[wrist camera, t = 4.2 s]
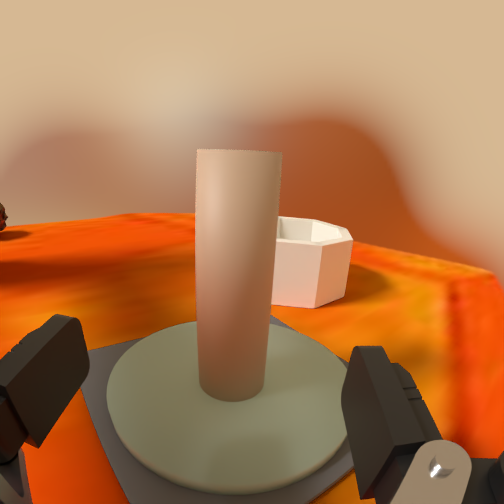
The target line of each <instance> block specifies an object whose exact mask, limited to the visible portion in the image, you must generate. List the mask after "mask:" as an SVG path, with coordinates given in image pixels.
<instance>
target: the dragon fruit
mask: <svg viewBox="0 0 504 504" xmlns="http://www.w3.org/2000/svg"><path fill="white" fill-rule="evenodd" d="M7 218H8V216H7V215H6V214H5V208H4V207H3V205H2V204H1V203H0V231H2V230H4V229H5V227H6V223H5V220H6V219H7Z"/></svg>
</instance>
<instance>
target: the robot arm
mask: <svg viewBox="0 0 504 504" xmlns="http://www.w3.org/2000/svg"><path fill="white" fill-rule="evenodd" d="M89 369H90V360H89V355H88V352H87V347H86V343H85V339H84V335H83V330H82V326H81V323H80V321H79V320H78V319H77V318H74V317H69V316H64V315H59V314H55V315H53V316H52V317H51V318H50V319H49V320H48V321H47V322H45V323H44V324H43V325H42V326H41V327H40V328H38V329H36V330H34V331H32V332H30V333H28V334H27V335H26V336H25V337H24V338H23V339H22V340H21V341H20V342H19V344H16V345H15V346H14V347H13V348H12V349H11V352H8V353H7V354H6V355H5V356H4V357H3V358H2V359H1V360H0V504H33V502H32V498H31V493H30V488H29V483H28V477H27V470H26V464H25V456H24V452H23V450H22V448H21V446H22V445H23V443H24V442H26V443H28V444H30V445H32V446H34V447H36V448H38V449H39V447H40V446H41V444H42V443H43V441H44V440H45V438H46V436H47V435H48V433H49V432H50V430H51V429H52V427H53V426H54V424H55V423H56V421H57V420H58V418H59V417H60V415H61V414H62V412H63V411H64V410H65V408H66V407H67V405H68V404H69V402H70V401H71V399H72V398H73V396H74V395H75V394H76V392H77V391H78V389H79V388H80V386H81V385H82V384H83V382H84V381H85V379H86V378H87V376H88V373H89ZM416 388H417V386H416V384H415V382H414V380H413V379H412V377H411V375H410V373H409V372H407V371H406V370H405V369H404V368H403V367H402V366H401V365H399V364H398V363H390V361H389V359H388V357H387V355H386V353H385V351H384V349H383V347H382V346H355V347H354V349H353V351H352V354H351V358H350V362H349V365H348V369H347V373H346V376H345V380H344V383H343V387H342V392H341V408H342V412H343V417H344V421H345V426H346V430H347V435H348V440H349V445H350V449H351V454H352V459H353V464H354V469H355V474H356V479H357V484H358V490H359V495H360V500H362V499H370V498H375V501H376V504H504V451H503V452H502V453H501V455H500V456H499V457H498V459H488V458H470V457H469V455H468V454H467V452H466V451H465V450H464V449H463V448H462V447H461V446H459V445H457V444H456V443H453V442H451V441H447V440H443V439H442V437H441V435H440V433H439V431H438V428H437V426H436V424H435V422H434V420H433V418H432V416H431V414H430V412H429V410H428V408H427V406H426V404H425V402H424V400H422V396H421V394H420V392H419V390H418V389H416Z"/></svg>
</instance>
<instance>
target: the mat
mask: <svg viewBox="0 0 504 504" xmlns="http://www.w3.org/2000/svg"><path fill="white" fill-rule="evenodd" d="M270 324H274V325H278V326H281V327H285V328H288V329H291V330H294V329H292V328H291V327H289V326H288V325H286V324H284V323H283V322H281V321H280V320H278V319H277V318H275V317H273V316H272V315H270ZM294 331H296V330H294ZM296 332H297V331H296ZM144 338H145V337H144ZM144 338H140V339H136V340H132V341H128V342H123V343H119V344H115V345H111V346H107V347H102V348H98V349H94V350H89V351H87V352H88V355H89V360H90V369H89V373H88V376H87V378H86V379H85V381H84V382H83V384H82V385H81V386H80V387H81V390H82V393H83V396H84V399H85V402H86V405H87V408H88V411H89V413H90V416H91V419H92V421H93V424H94V427H95V429H96V432H97V434H98V437H99V439H100V442H101V444H102V446H103V449H104V451H105V453H106V456H107V458H108V460H109V462H110V465H111V467H112V469H113V471H114V473H115V475H116V477H117V479H118V481H119V483H120V485H121V487H122V489H123V491H124V493H125V495H126V497H127V499H128V501H129V503H130V504H309V503H310V502H311V501H313V500H314V499H315V498H317V497H318V496H320V495H321V494H322V493H324V492H325V491H326V490H328V489H329V488H330V487H331V486H333V485H334V484H335V483H337V482H338V481H339V480H340V479H341V478H343V477H344V476H345V475H346V474H348V473H349V472H350V471H351V470H352V469H354V464H353V459H352V454H351V449H350V445H349V440H348V435H347V437H346V439H345V441H344V442H343V444H342V446H341V447H340V449H339V450H338V451H337V452H336V454H335V455H334V456H333V457H332V458H331V459H330V460H329V461H328V462H327V463H326V464H325V465H323V466H322V467H321V468H320V469H319V470H317V471H316V472H314V473H313V474H311V475H309V476H308V477H306V478H304V479H303V480H300V481H298V482H296V483H293V484H291V485H288V486H286V487H283V488H279V489H276V490H272V491H268V492H264V493H256V494H248V495H220V494H213V493H206V492H200V491H196V490H193V489H189V488H186V487H182V486H179V485H177V484H175V483H173V482H170V481H168V480H166V479H164V478H162V477H160V476H158V475H157V474H155V473H154V472H152V471H150V470H149V469H147V468H146V467H145V466H144V465H142V464H141V463H140V462H139V461H138V460H137V459H135V458H134V457H133V456H132V454H131V453H130V452H129V451H128V450H127V449H126V447H125V446H124V445H123V443H122V441H121V440H120V438H119V436H118V435H117V433H116V430H115V427H114V425H113V422H112V419H111V416H110V413H109V410H108V405H107V397H106V395H107V384H108V381H109V377H110V374H111V372H112V370H113V368H114V366H115V364H116V363H117V362H118V360H119V359H120V357H121V356H122V355H123V354H124V353H125V352H126V351H127V350H128V349H130V348H131V347H132V346H133V345H134V344H136V343H137V342H139V341H140V340H142V339H144ZM337 357H338V356H337ZM338 359H339V360H340V361H341V362H342V363H343V364H344V366H345V367H346V369H348V365H349V363H348V362H346V361H345V360H343V359H341V358H340V357H338Z"/></svg>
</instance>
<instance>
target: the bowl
mask: <svg viewBox="0 0 504 504" xmlns="http://www.w3.org/2000/svg"><path fill="white" fill-rule="evenodd" d="M352 244H353V239H352V237H351V235H350V234H349V232H348V230H347V229H346V228H343V227H339V226H336V225H332V224H329V223H325V222H321V221H318V220H313V219H302V218H291V217H279V216H278V225H277V238H276V251H275V264H274V277H273V289H272V301H271V304H272V305H282V306H292V307H303V308H317V307H319V306H322V305H324V304H327V303H329V302H332V301H334V300H337V299H339V298H342V297H344V295H345V289H346V283H347V277H348V271H349V264H350V258H351V251H352Z"/></svg>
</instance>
